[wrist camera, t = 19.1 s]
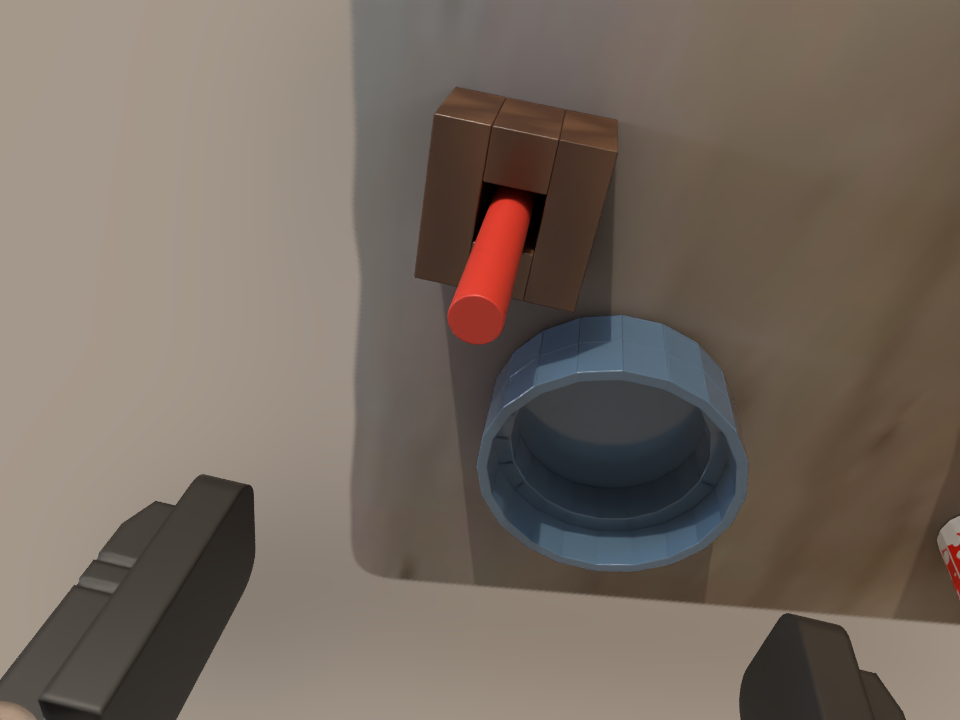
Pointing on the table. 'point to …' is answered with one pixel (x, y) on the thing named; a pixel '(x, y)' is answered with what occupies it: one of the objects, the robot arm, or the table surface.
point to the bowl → (613, 446)
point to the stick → (492, 268)
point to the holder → (522, 165)
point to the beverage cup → (951, 550)
